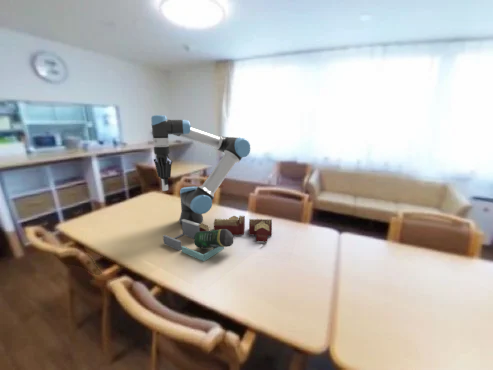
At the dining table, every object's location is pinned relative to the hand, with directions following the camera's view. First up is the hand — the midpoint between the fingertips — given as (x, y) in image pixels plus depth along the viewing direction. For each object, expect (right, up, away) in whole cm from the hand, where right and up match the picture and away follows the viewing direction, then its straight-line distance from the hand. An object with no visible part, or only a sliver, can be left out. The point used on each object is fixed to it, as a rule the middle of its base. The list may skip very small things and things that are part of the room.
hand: (165, 190), depth 128 cm
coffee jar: (+19, -26, -6) cm, 33 cm away
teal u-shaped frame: (+22, -31, -7) cm, 38 cm away
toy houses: (+36, -26, +13) cm, 47 cm away
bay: (+9, -29, +2) cm, 30 cm away
